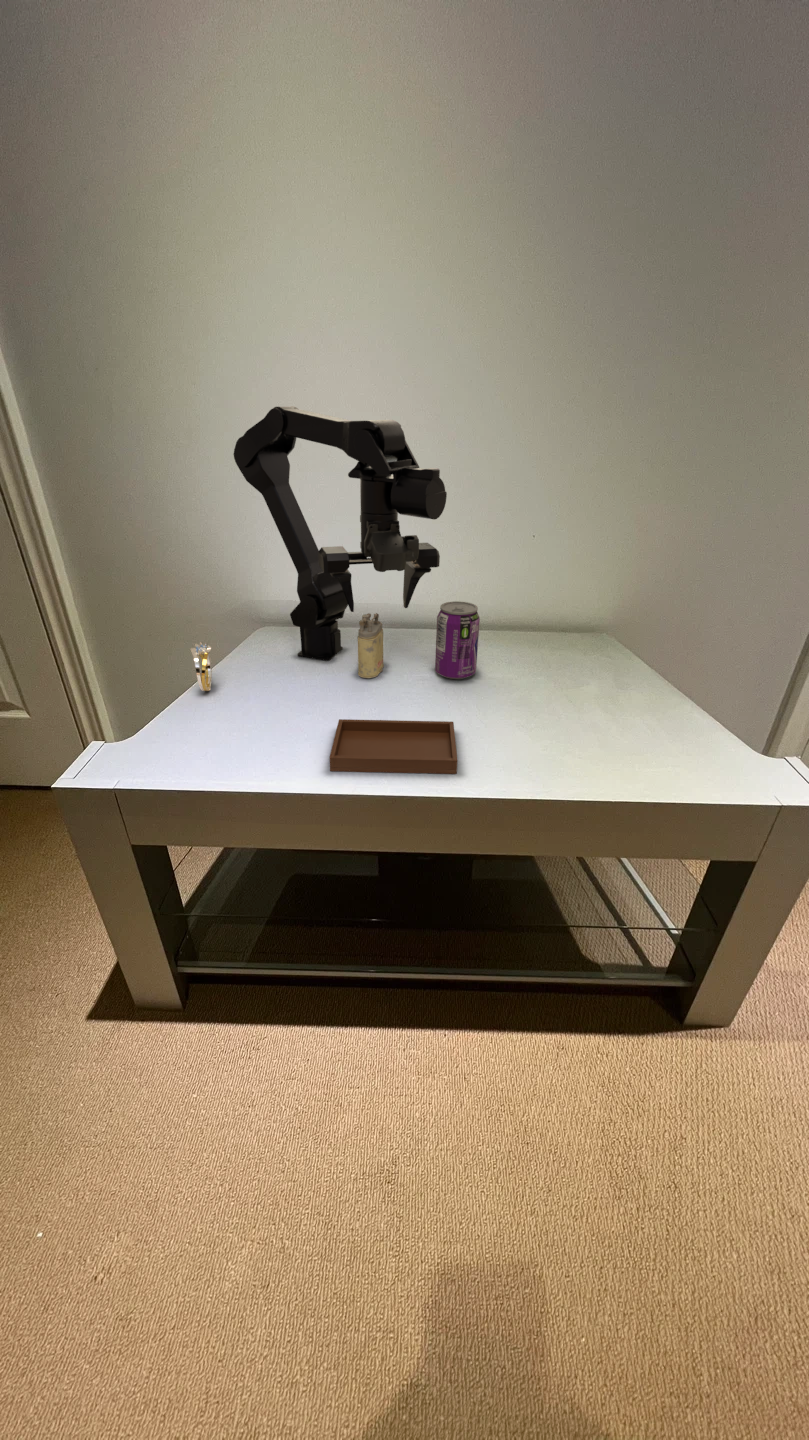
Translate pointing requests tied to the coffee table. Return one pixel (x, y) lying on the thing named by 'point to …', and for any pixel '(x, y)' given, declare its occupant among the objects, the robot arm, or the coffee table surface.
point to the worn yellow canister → (370, 646)
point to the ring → (203, 665)
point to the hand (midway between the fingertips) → (379, 609)
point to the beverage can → (457, 640)
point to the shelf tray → (394, 747)
